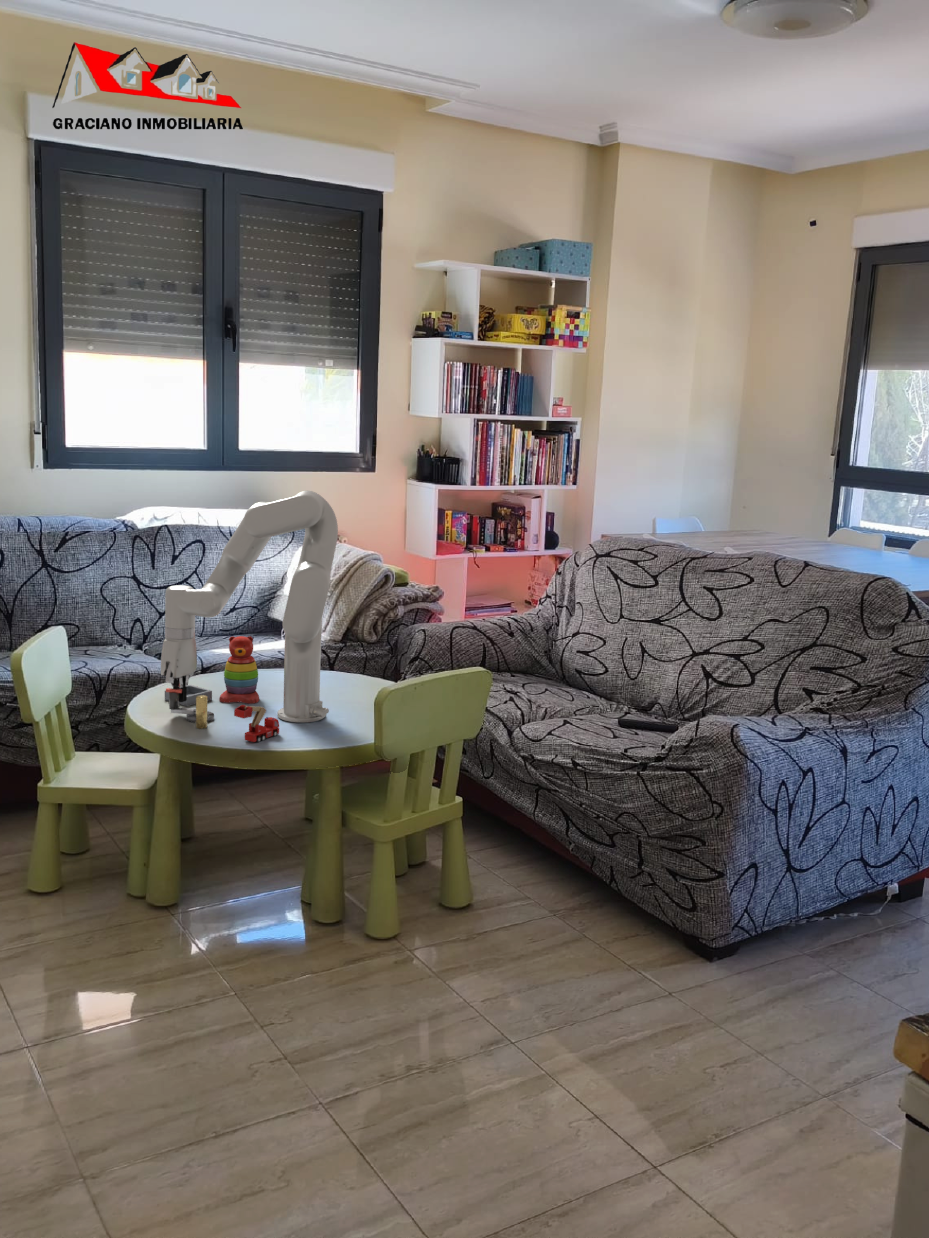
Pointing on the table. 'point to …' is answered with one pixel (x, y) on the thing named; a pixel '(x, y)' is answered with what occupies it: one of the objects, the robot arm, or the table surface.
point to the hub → (193, 717)
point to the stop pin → (201, 712)
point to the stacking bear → (240, 672)
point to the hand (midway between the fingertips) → (179, 700)
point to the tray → (193, 695)
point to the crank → (177, 702)
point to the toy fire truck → (257, 723)
